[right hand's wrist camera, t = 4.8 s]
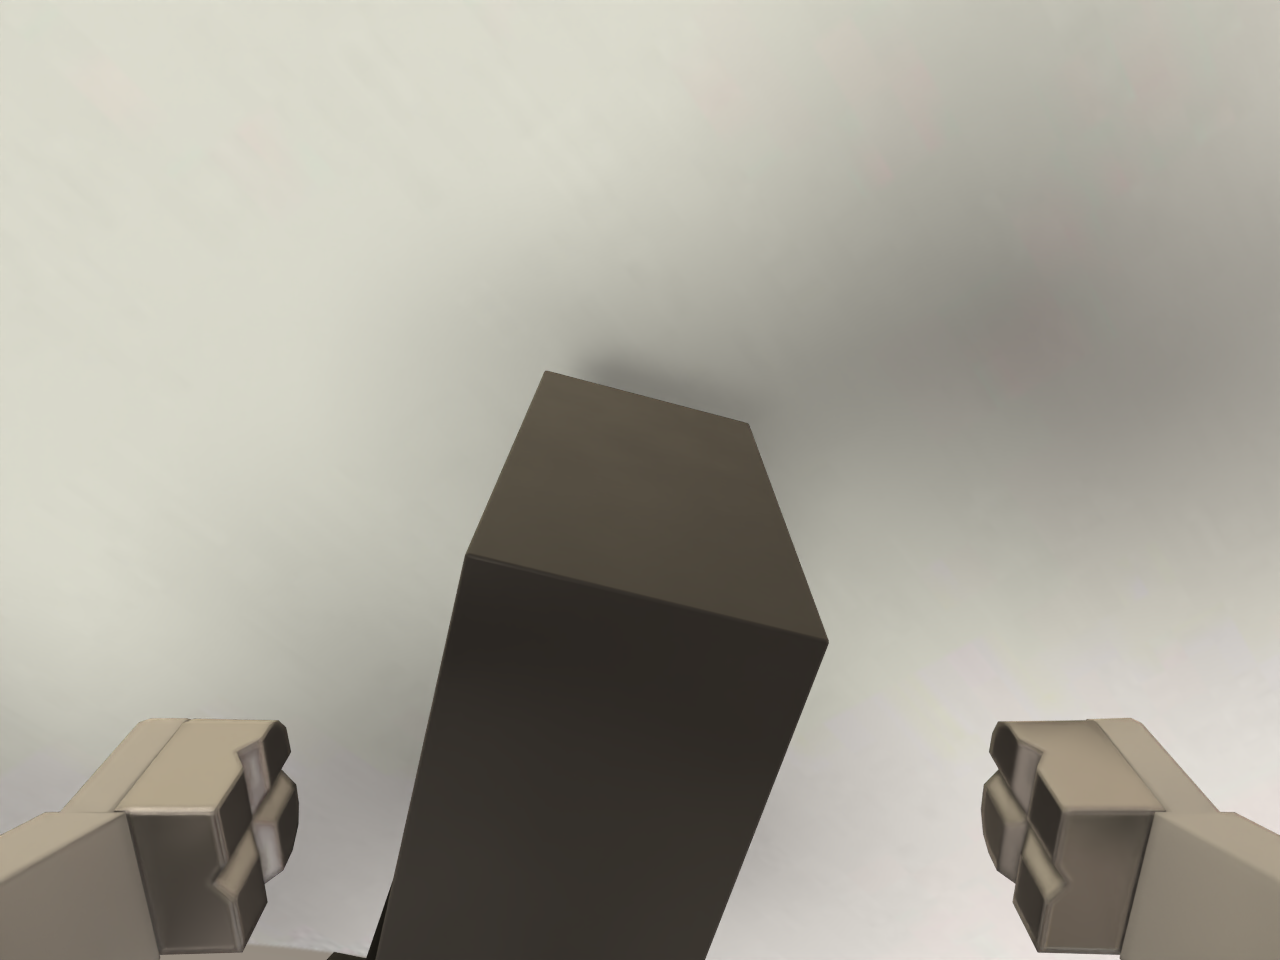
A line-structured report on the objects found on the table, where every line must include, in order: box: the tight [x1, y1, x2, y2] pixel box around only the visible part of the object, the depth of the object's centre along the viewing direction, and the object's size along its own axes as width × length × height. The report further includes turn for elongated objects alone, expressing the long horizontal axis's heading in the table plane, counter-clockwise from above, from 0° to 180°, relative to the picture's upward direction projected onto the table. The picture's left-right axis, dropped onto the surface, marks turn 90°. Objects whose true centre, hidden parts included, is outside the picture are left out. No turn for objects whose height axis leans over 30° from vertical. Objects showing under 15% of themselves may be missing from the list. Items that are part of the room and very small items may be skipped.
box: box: [375, 371, 829, 960], centre depth 23 cm, size 20×6×12 cm, turn 165°
